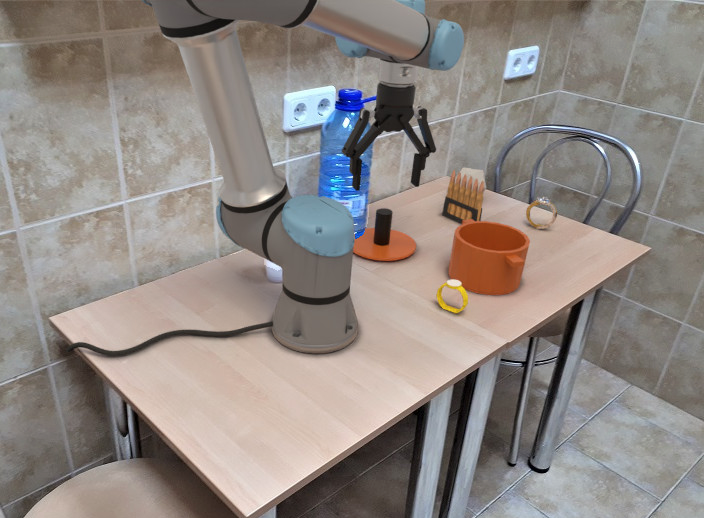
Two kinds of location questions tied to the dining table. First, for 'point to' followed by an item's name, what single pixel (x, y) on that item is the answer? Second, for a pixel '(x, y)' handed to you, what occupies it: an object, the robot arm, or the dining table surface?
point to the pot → (488, 257)
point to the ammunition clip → (463, 199)
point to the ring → (538, 202)
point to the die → (473, 176)
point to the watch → (452, 285)
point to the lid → (384, 240)
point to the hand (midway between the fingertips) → (385, 186)
